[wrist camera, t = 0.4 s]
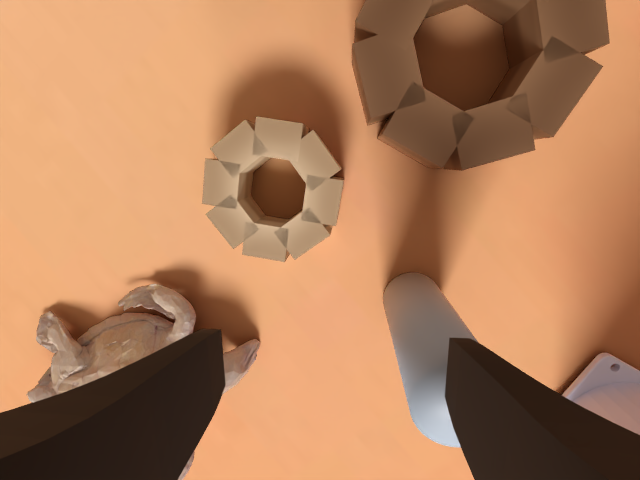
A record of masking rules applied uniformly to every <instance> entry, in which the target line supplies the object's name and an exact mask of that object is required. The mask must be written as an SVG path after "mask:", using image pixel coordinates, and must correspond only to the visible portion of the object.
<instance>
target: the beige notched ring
mask: <svg viewBox="0 0 640 480" xmlns="http://www.w3.org/2000/svg"><path fill="white" fill-rule="evenodd" d="M210 149H211V151H212V152H213V153H214V154H215V156H216V157H217V158H218V159H205V170H204V185H203V200H202V204H206V205H212V206H215V207H214V208H213V209H212V210H210V211H209V212H208V213H206V215H207V217H208V218H209V219H210V220H211V222H212V223H213V224H214V226H215V227H216V228H217V229H218V231H219V232H220V233H221V234H222V236H223V237H224V238H225V239H226V241H227V242H228V243H229V245H230V246H231V247H232V248H233V249H234V248H236V247H237V246H238V245H240V244H241V243H242V242H243V252H242V255H247V256H253V257H259V258H265V259H270V260H276V261H282V262H285V261H286V259H287V258H288V256H289V255H290V254H291V256H292V257H293V258H294V259H297V258H298V257H300V256H301V255H302V254H304V253H305V252H307V251H308V250H310V249H311V248H312V247H314V246H315V245H317V244H318V243H320V242H321V241H322V240H324V239H325V238H327V237H328V236H330V234H331V230H332V226H336V223H337V218H338V212H339V206H340V200H341V195H342V189H343V183H344V178H339V177H333V175H334V174H336V173H337V172H338V171H340V170H341V169H342V168H341V166H340V165H339V164H338V162H337V161H336V159H335V158H334V156H333V155H332V154H331V152H330V151H329V149H328V148H327V146H326V145H325V144H324V142H323V141H322V139H321V138H320V137H319V135H318V134H317V133H316V132H315V131H314V130H312V131H311V132H309V128H308V127H307V126H305V125H304V124H303V123H297V122H290V121H284V120H277V119H271V118H264V117H257V116H256V122H255V123H253V122H250V121H248V120H246V119H245V120H244V121H243V122H241V123H240V124H239V125H238V126H237V127H235V128H234V129H233V130H232V131H231V132H230V133H228V134H227V135H226V136H225V137H224V138H222V139H221V140H220V141H219V142H218V143H216V144H215V145H214V146H213V147H212V148H210ZM270 158H277V159H283V160H289V161H290V162H291V164H292V165H293V166H294V168H295V169H296V171H297V172H298V173H299V175H300V176H301V177H302V179H303V180H304V182H305V183H306V189H305V196H304V203H303V210H301V211H300V212H299V213H297V214H296V215H294V216H293V217H292V218H290V219H284V218H278V217H272V216H266V215H265V214H264V213H263V211H262V210H261V209H260V207H259V206H258V205H257V203H256V202H255V201H254V199H253V198H252V197H251V191H252V181H253V172H254V171H255V170H256V169H258V168H259V167H260V166H261V165H263V164H264V163H265V162H266V161H268V160H269V159H270Z"/></svg>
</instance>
